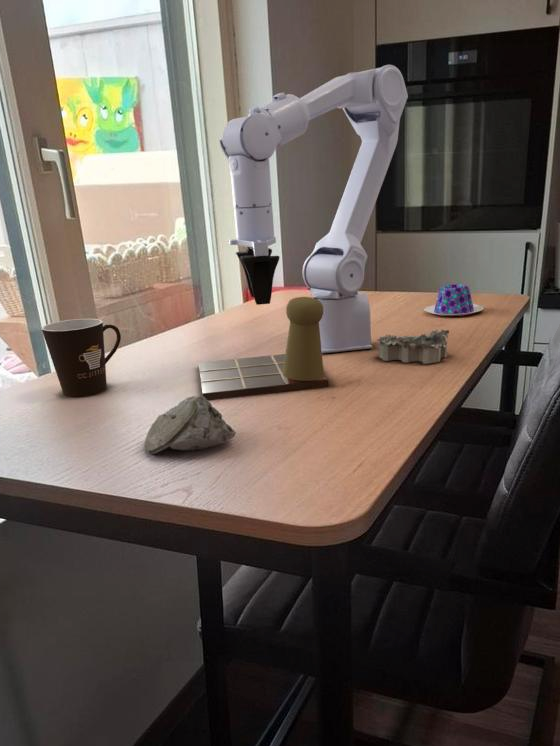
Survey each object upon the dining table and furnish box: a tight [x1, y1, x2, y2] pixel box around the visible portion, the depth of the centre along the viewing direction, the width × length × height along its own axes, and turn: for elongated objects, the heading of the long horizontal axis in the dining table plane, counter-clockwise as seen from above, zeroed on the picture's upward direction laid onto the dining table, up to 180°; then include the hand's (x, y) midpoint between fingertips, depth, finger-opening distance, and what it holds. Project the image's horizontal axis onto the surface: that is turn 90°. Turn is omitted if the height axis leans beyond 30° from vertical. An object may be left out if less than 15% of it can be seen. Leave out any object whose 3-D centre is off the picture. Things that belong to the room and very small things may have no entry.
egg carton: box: [376, 329, 450, 365], centre depth 112 cm, size 11×8×4 cm
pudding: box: [424, 283, 485, 317], centre depth 143 cm, size 12×12×5 cm
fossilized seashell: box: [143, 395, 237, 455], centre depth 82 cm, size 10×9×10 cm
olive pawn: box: [283, 296, 325, 381], centre depth 100 cm, size 6×6×11 cm
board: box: [198, 353, 330, 401], centre depth 107 cm, size 18×18×1 cm
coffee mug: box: [40, 318, 122, 398], centre depth 105 cm, size 12×9×10 cm
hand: (260, 300), depth 110 cm, fingers open, 7 cm apart
